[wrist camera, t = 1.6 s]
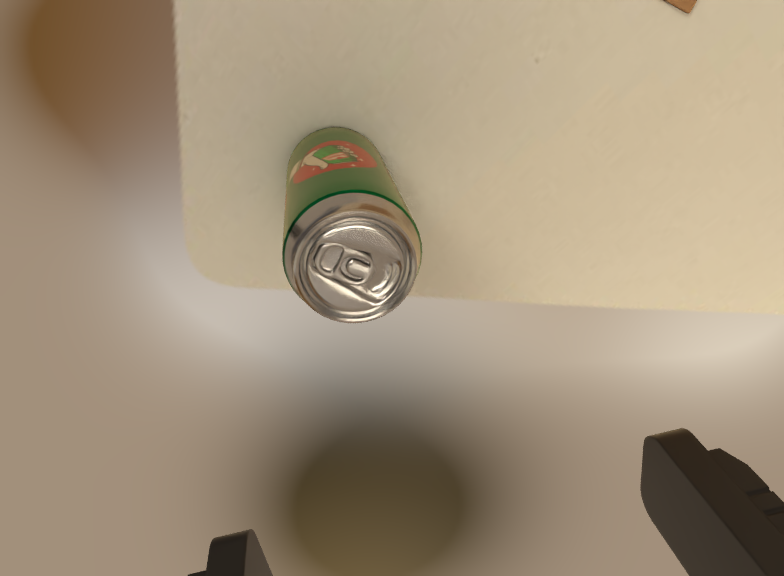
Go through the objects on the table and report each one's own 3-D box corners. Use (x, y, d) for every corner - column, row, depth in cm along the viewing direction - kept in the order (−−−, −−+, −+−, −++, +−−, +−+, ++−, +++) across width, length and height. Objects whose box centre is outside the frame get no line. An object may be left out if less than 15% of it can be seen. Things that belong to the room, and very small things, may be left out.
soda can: (358, 231, 32) (388, 350, 21) (272, 196, 30) (259, 305, 20) (399, 149, 30) (454, 234, 19) (310, 107, 28) (317, 175, 18)
